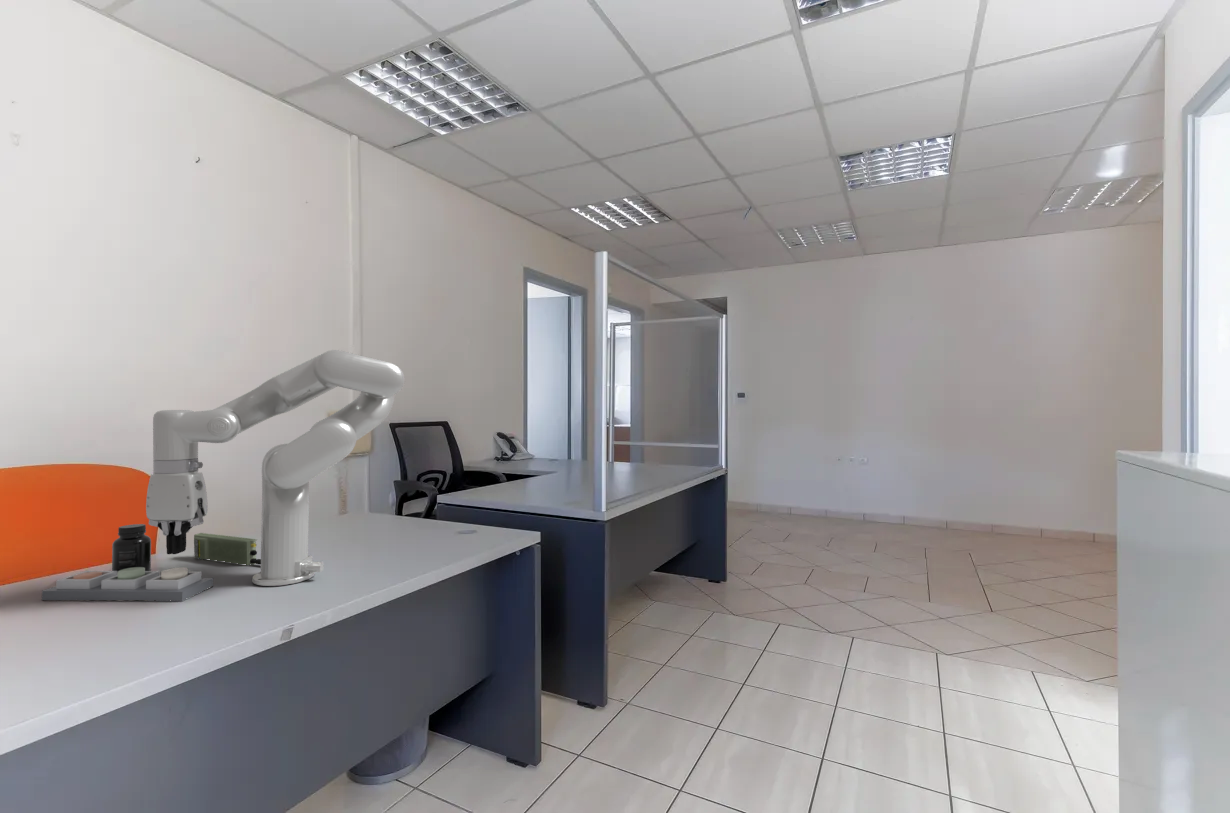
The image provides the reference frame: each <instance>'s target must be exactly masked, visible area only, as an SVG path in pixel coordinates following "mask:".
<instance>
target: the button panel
mask: <svg viewBox="0 0 1230 813" xmlns="http://www.w3.org/2000/svg"><path fill="white" fill-rule="evenodd" d="M94 571H95V570H84V571H82V572H81V571H80V572H78V573H75V574H72V575H69V576H65V577H62V578H59V579H57V580H56V585H55V586H52V587H50V588H47V589H44V590H41V601H42V600H148V601H147V602H184V601H186V600H187V599H186V598H188V599H190V598H189V597H191V596H193V595H195V594H197V593H199V592H201V593H203V592H204V591H203V590H205V589H207V588H209V587H211V586H213V587H214V578H213V577H202V571H192V570H191V571H189V570H188V576H186V577H183V578H181V579H178V580H161V575H160V574H161V573H160V572H161V571H159V570H158V571H157V570H151V571H145V575H144V576H142V577H139V578H136V579H134V580H125V579H117V571H112V570H98V571H99V572H102V575H100V576H97V577H94V578H91V579H73V576H75V575H77V574H81V573H86V572H94ZM202 591H203V592H202ZM205 591H206V590H205ZM199 594H200V593H199ZM197 595H198V594H197ZM195 596H196V595H195ZM193 597H194V596H193ZM191 598H192V597H191ZM185 599H186V600H185ZM154 600H156V601H154ZM170 600H171V601H170ZM183 600H184V601H183Z"/></svg>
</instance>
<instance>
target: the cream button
mask: <svg viewBox="0 0 1230 813" xmlns="http://www.w3.org/2000/svg"><path fill="white" fill-rule="evenodd" d="M188 571H189V570H188V567H174V568H173V567H171V568H167V569H164V570H162V571H160V572H161V573H160V574H161V580H178V579H181V578H183V577H186V576H188Z"/></svg>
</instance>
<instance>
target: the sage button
mask: <svg viewBox="0 0 1230 813" xmlns="http://www.w3.org/2000/svg"><path fill="white" fill-rule="evenodd" d="M144 575H145V568H144V567H134V568H127V569H123V570H120V571H118V574H117V579H125V580H134V579H136V578H139V577H142V576H144Z"/></svg>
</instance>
